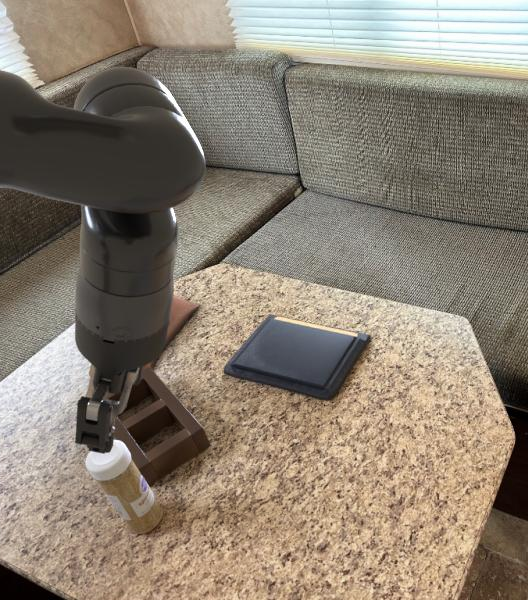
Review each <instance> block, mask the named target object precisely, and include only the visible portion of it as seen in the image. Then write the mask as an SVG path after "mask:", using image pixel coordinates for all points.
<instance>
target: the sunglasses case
mask: <svg viewBox="0 0 528 600" xmlns="http://www.w3.org/2000/svg"><path fill="white" fill-rule="evenodd" d="M200 307H201V303H193V302H191V301H189V300H186V299H184V298H182V297H179V296H177V295H175V294H173V301H172V307H171V313H170V320H169V326H168V332H167V339H166V344H165V347H164V349H163V351H162V352H161V354H160V355H159V356H158V357H157V358H156V359H155V360H153V361H152V362H150V363H149V364H147V365H145V366H143V370H144V369H146V368H148V367H151V369H152V370H153V368H154V366H155V364H156V362H157V361H158V360H159V358H160V356H161V355H162V354H163V353H164V351H166V348H167V347H169V345H170V344H171V342H172V341H173V340H174V338H176V336H178V334H179V332H180V331H181V330H182V329H183V328H184V327H185V326H186V324H187V323H188V322H189V320H190V319H191V318H192V317H193V316H194V315H195V313H196V312H197V311H198V310H199V308H200Z"/></svg>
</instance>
